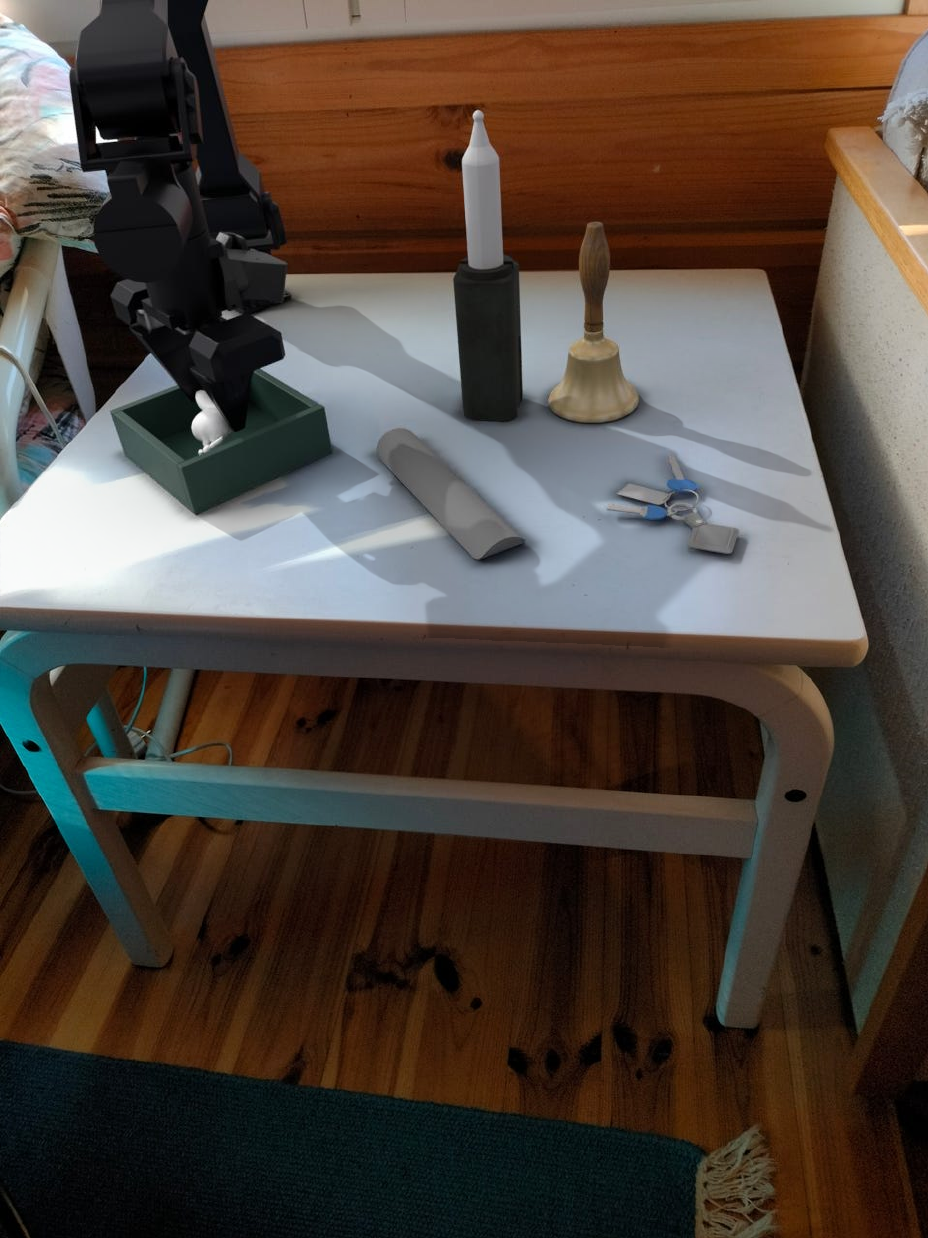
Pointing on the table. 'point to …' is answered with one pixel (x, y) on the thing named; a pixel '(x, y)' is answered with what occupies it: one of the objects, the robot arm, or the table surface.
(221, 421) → the rabbit figurine
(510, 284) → the candle
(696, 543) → the key chain
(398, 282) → the table surface
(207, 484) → the bin
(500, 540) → the half round rod
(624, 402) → the hand bell
